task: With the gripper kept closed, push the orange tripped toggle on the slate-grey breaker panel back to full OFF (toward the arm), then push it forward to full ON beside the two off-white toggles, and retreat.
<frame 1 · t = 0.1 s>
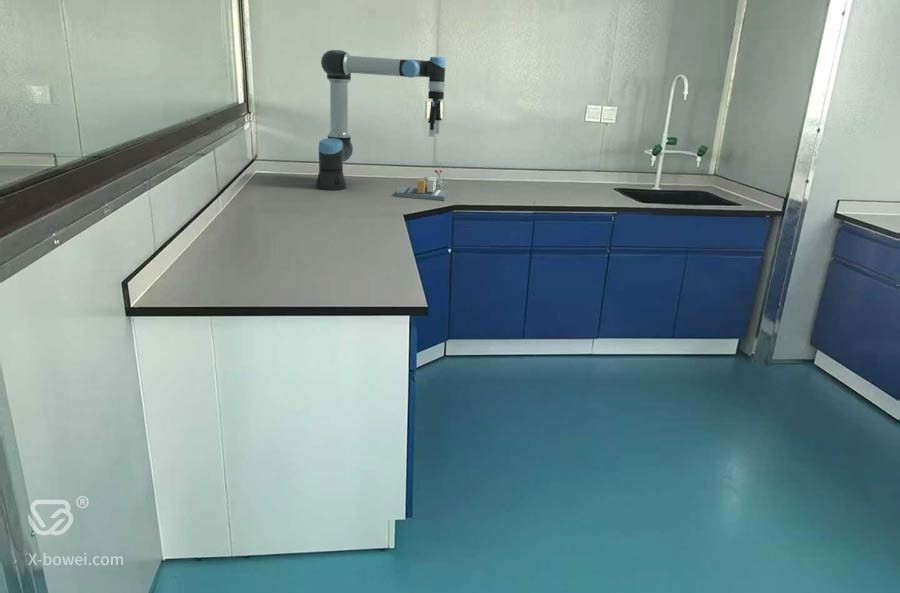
hand: (434, 135, 315), 28 cm above the counter, fingers open, 13 cm apart
breaker panel: (422, 195, 312), on the counter
tripped toggle: (421, 186, 307), point 5 cm above the counter, slide at 0.0 cm
molecular model: (436, 189, 330), on the counter
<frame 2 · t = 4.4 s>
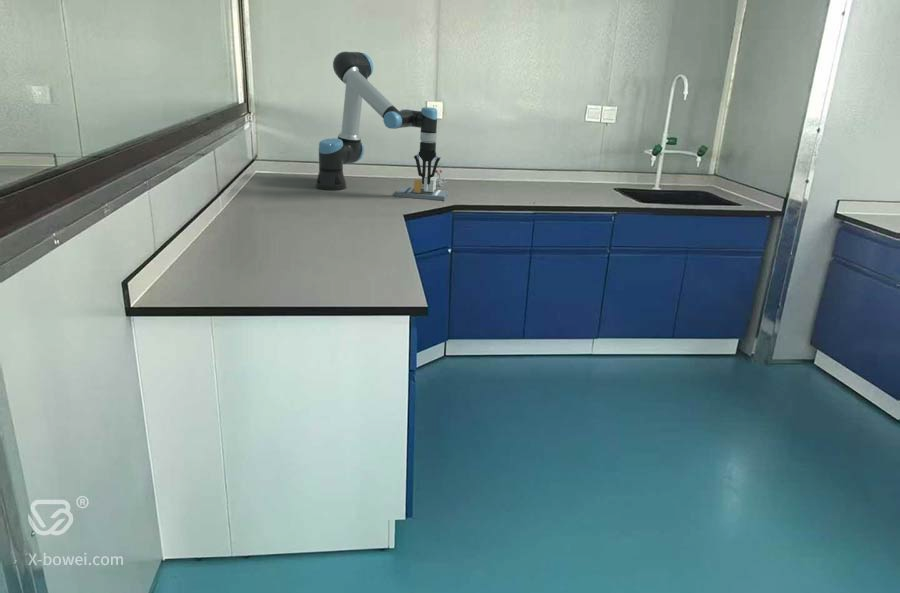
hand: (425, 190, 307), 3 cm above the counter, fingers closed
tripped toggle: (417, 186, 307), point 5 cm above the counter, slide at -1.7 cm, touching gripper
everything else where it was.
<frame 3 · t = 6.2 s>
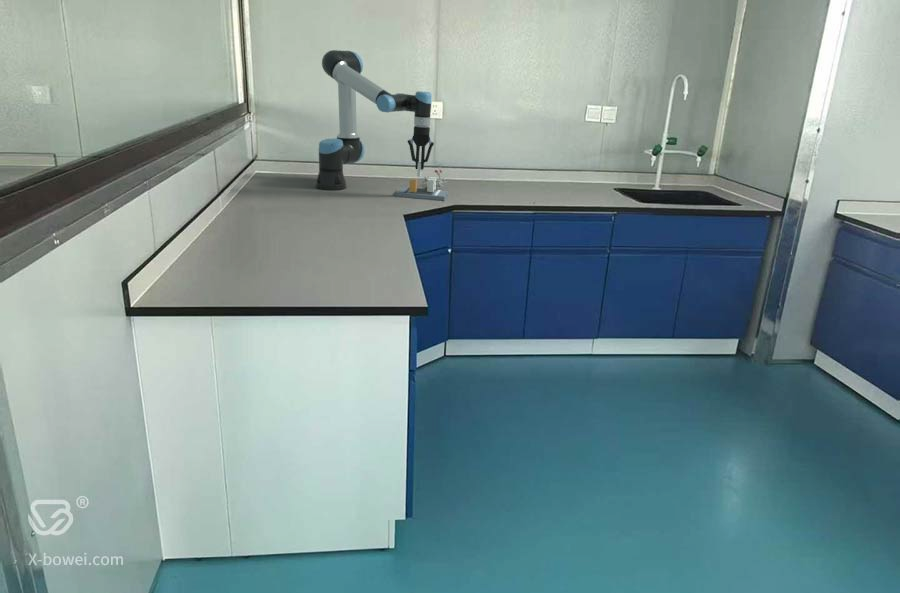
hand: (419, 176, 305), 10 cm above the counter, fingers closed
tripped toggle: (413, 185, 307), point 5 cm above the counter, slide at -4.0 cm
everything else where it was.
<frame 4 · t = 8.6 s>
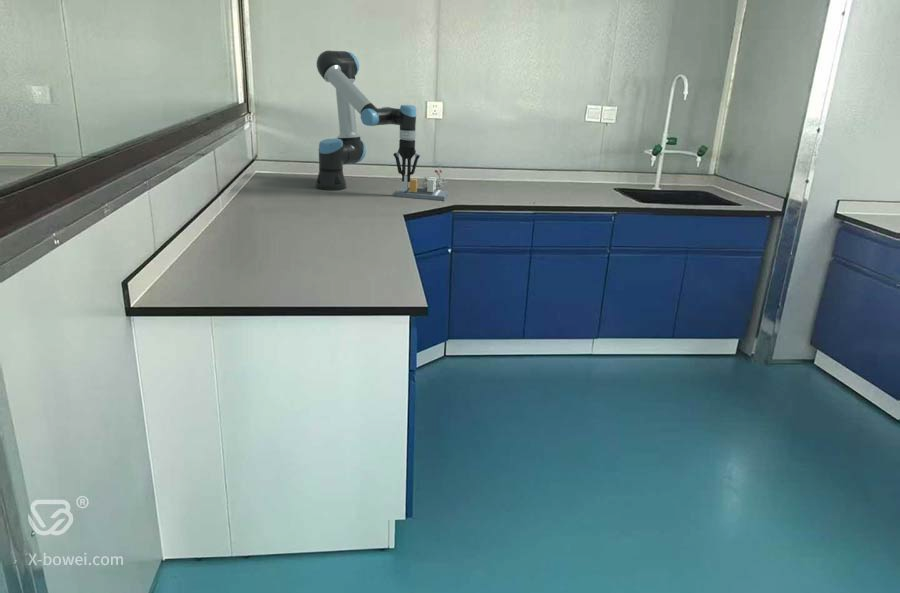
hand: (405, 188, 308), 4 cm above the counter, fingers closed
tripped toggle: (413, 185, 307), point 5 cm above the counter, slide at -3.9 cm, touching gripper
everything else where it was.
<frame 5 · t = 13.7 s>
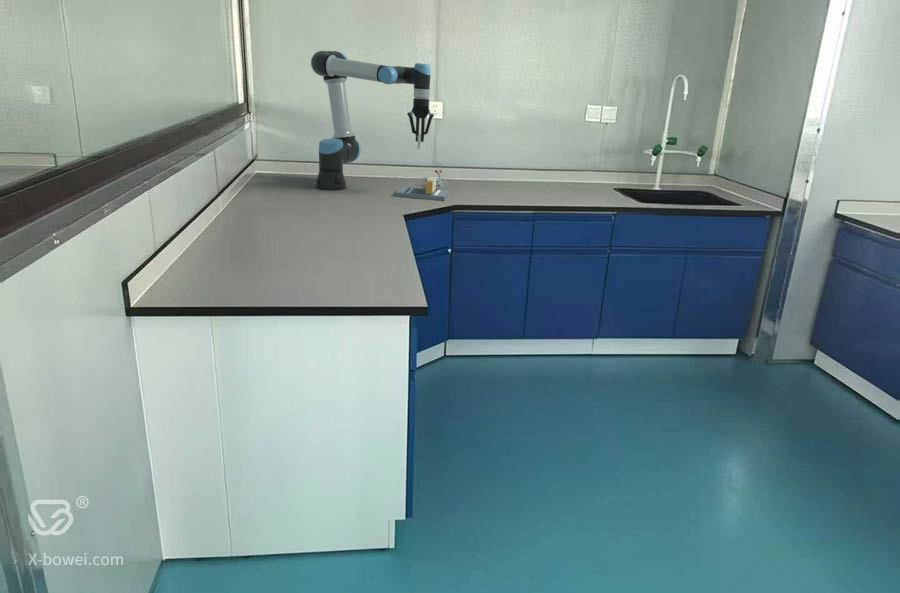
hand: (419, 148, 308), 22 cm above the counter, fingers closed
tripped toggle: (429, 187, 306), point 5 cm above the counter, slide at 4.0 cm
everything else where it was.
at the end: tripped toggle slide at 4.0 cm; tripped toggle touching nothing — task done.
